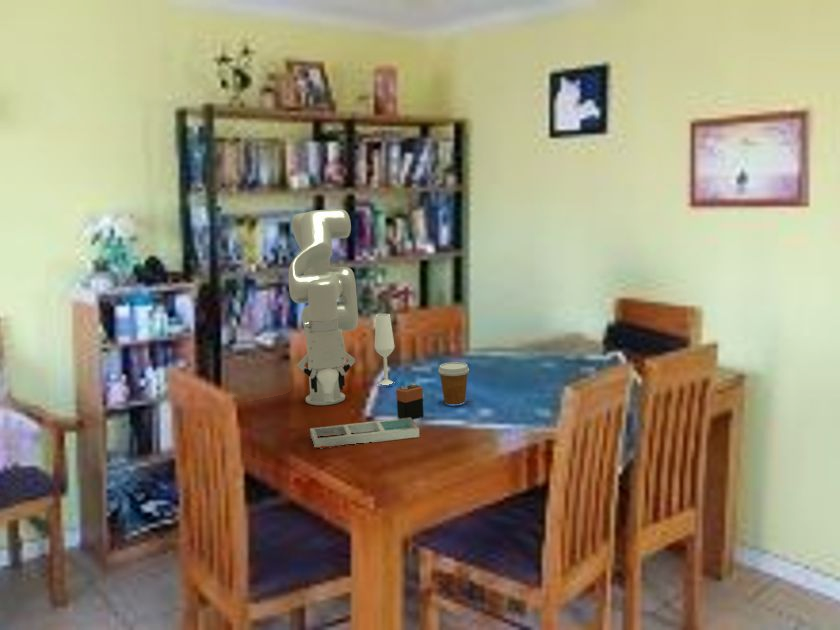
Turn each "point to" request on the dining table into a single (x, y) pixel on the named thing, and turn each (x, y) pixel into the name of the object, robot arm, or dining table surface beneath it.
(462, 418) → the dining table surface
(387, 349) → the champagne flute
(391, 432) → the rail
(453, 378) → the disposable coffee cup
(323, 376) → the lightbulb
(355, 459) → the dining table surface
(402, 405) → the battery
